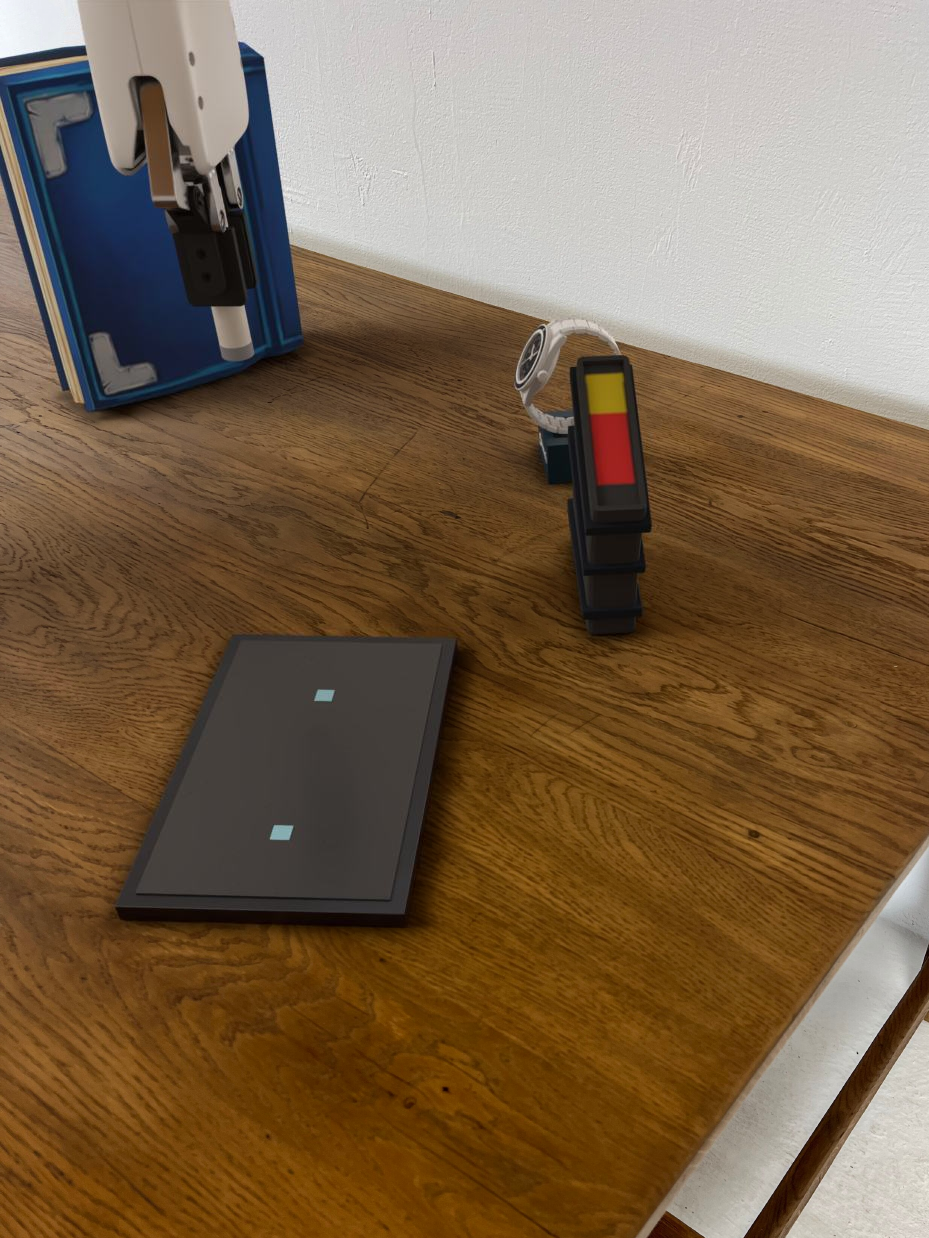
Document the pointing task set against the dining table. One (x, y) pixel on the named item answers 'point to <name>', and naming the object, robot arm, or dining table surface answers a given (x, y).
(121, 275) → the book
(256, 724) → the tablet
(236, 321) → the stylus
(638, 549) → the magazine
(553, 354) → the watch
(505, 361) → the dining table surface
